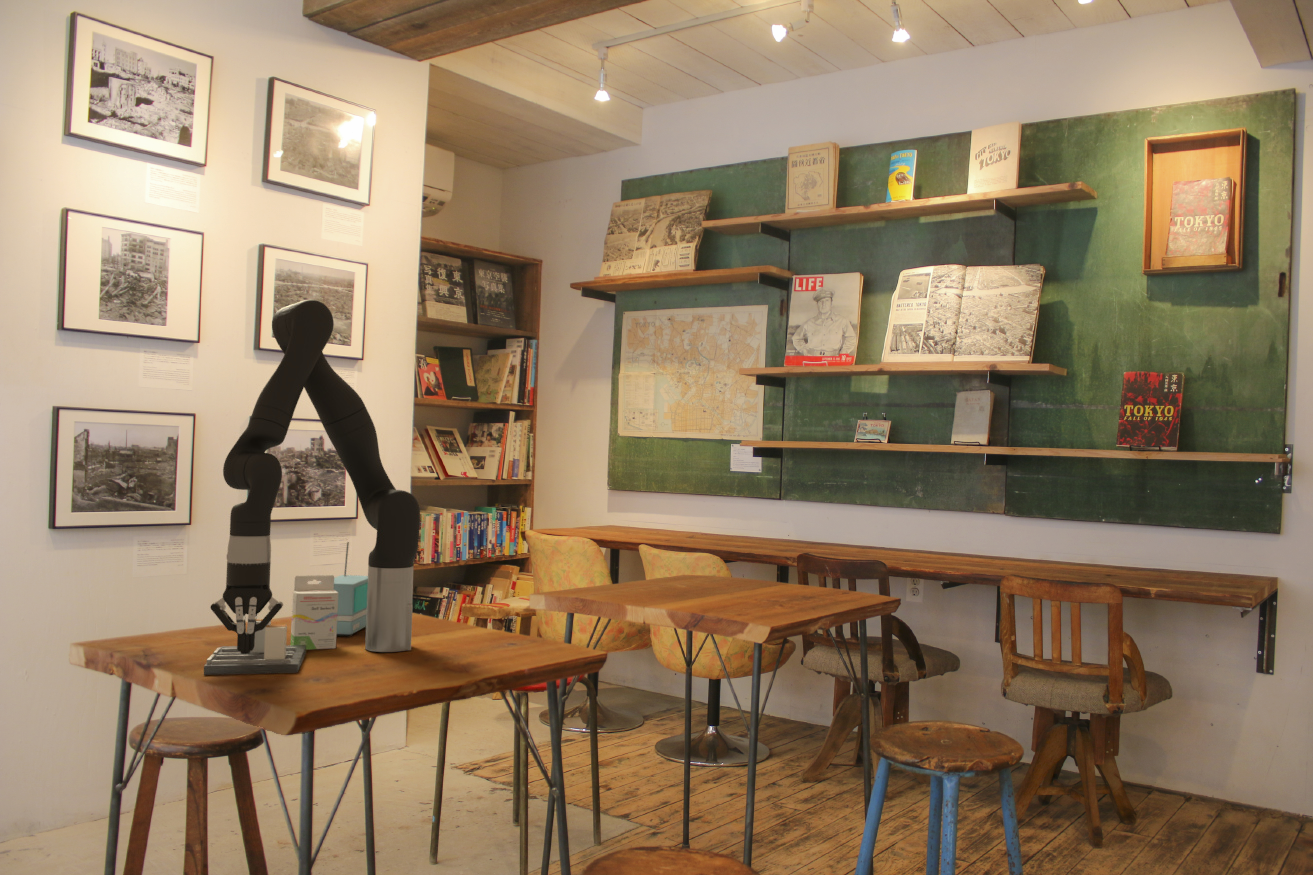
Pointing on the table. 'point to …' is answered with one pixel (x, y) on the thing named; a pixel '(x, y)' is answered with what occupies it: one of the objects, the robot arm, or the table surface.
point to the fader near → (275, 642)
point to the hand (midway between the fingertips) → (245, 653)
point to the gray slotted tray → (253, 661)
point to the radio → (351, 602)
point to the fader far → (259, 639)
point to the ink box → (314, 612)
